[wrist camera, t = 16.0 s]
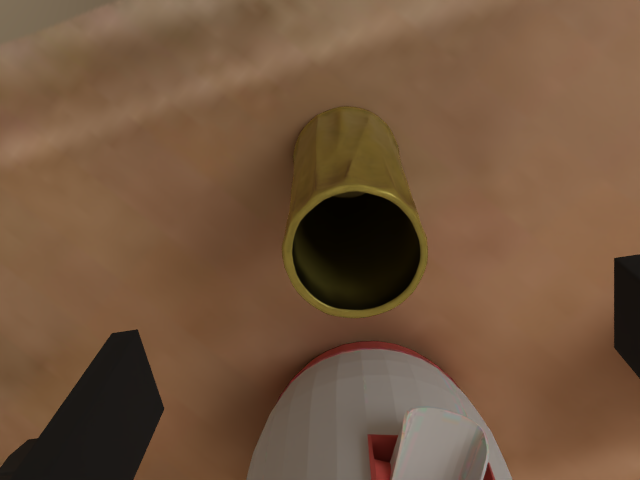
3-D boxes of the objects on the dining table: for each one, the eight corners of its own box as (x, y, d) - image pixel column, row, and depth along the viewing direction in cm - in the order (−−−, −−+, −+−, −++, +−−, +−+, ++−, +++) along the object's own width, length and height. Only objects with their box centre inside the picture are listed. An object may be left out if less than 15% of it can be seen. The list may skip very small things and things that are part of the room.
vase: (351, 82, 32) (365, 134, 19) (420, 163, 34) (477, 263, 21) (272, 154, 34) (234, 248, 21) (341, 228, 35) (347, 359, 22)
